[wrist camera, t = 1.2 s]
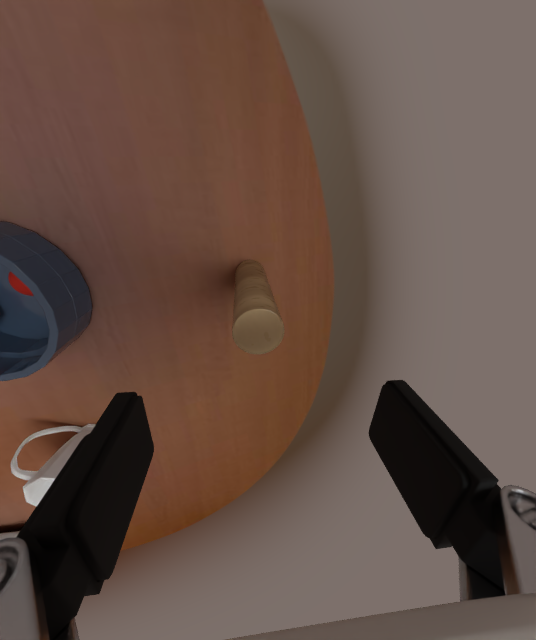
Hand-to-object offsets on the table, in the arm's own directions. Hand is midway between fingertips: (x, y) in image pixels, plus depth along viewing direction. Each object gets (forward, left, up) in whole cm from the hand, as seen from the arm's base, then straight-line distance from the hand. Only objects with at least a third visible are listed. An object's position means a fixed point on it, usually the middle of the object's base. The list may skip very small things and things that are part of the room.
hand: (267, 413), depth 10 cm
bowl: (-10, -21, -19) cm, 30 cm away
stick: (0, 0, -19) cm, 19 cm away
